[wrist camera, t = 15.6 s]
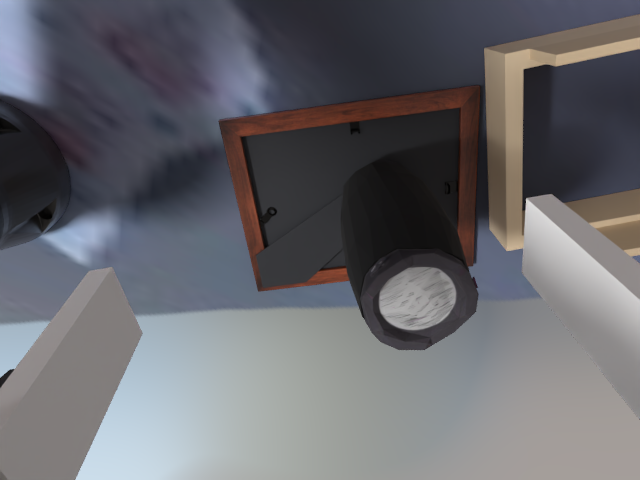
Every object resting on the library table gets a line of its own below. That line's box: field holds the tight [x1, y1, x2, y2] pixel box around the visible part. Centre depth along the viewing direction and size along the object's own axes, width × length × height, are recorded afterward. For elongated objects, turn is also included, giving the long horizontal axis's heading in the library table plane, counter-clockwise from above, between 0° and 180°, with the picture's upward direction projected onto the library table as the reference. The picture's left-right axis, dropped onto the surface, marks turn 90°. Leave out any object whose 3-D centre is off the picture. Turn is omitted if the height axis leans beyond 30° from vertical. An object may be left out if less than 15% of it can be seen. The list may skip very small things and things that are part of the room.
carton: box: [484, 14, 640, 256], centre depth 41 cm, size 19×19×10 cm
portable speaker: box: [340, 159, 478, 350], centre depth 39 cm, size 9×9×20 cm
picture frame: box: [219, 85, 480, 292], centre depth 48 cm, size 20×2×25 cm
